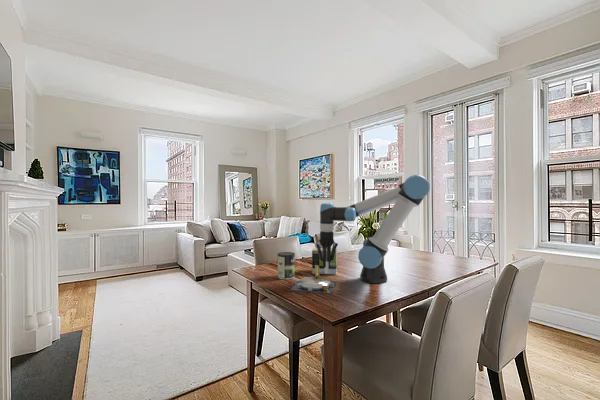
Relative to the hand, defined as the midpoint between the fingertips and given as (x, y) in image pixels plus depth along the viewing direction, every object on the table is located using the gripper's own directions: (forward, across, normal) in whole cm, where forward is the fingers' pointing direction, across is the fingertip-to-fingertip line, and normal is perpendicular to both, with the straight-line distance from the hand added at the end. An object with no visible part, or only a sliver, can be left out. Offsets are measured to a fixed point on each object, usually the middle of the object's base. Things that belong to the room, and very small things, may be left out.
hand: (326, 273), depth 165 cm
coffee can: (+5, +20, -15) cm, 25 cm away
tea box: (+5, -6, -20) cm, 21 cm away
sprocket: (+5, +9, +6) cm, 12 cm away
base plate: (+5, +9, +6) cm, 12 cm away
